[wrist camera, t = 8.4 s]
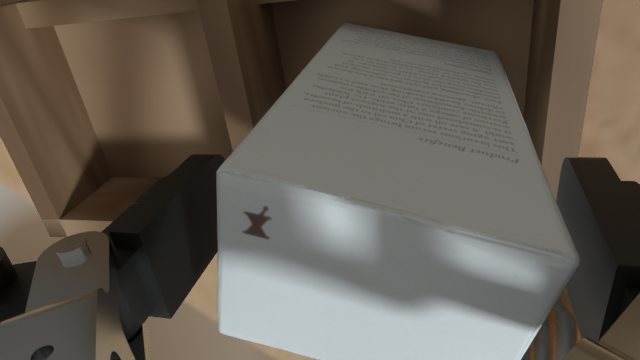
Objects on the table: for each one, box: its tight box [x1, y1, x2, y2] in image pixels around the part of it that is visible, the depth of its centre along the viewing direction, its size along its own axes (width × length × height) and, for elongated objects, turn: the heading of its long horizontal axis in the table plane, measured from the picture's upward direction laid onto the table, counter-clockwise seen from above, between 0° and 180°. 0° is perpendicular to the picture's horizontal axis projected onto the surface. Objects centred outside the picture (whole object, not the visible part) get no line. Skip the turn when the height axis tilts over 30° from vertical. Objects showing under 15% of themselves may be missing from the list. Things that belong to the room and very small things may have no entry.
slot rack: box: [0, 0, 603, 237], centre depth 18 cm, size 22×10×5 cm, turn 98°
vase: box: [521, 287, 582, 360], centre depth 19 cm, size 7×7×9 cm
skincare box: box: [216, 23, 580, 360], centre depth 13 cm, size 6×4×12 cm
